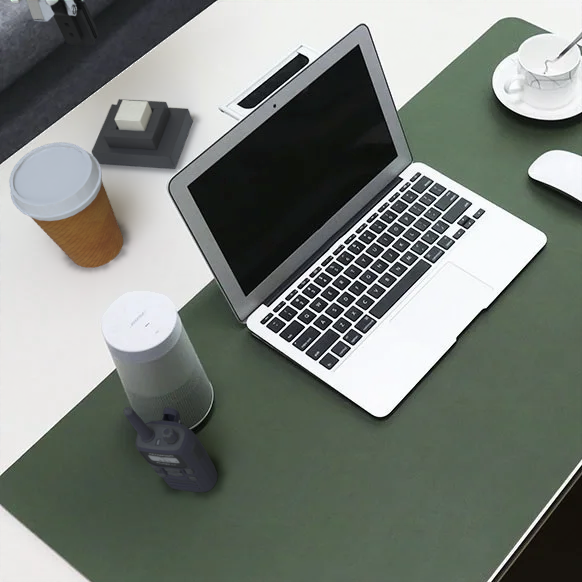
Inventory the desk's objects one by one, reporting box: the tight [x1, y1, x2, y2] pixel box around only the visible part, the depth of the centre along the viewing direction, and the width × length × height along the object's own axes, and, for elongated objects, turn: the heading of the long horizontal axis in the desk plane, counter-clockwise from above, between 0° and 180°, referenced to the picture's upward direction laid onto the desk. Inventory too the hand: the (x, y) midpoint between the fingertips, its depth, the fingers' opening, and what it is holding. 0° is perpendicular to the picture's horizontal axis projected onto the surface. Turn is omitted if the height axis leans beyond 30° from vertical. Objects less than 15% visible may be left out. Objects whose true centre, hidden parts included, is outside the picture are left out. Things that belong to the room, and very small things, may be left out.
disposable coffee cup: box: [8, 141, 124, 269], centre depth 91 cm, size 10×10×12 cm
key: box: [115, 99, 152, 131], centre depth 99 cm, size 3×3×2 cm
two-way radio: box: [122, 406, 219, 493], centre depth 75 cm, size 6×4×15 cm
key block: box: [91, 98, 194, 170], centre depth 101 cm, size 10×8×4 cm
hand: (83, 39), depth 89 cm, fingers closed
